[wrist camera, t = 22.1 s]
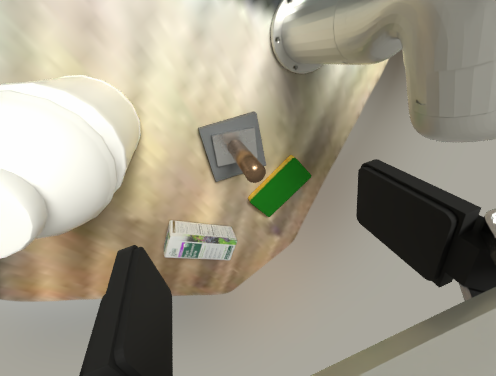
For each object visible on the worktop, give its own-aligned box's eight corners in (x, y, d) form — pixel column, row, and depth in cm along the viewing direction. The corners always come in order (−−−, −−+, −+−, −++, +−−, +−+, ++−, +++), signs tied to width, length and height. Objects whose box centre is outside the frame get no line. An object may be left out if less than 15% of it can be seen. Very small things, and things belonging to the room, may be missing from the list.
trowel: (252, 126, 44) (280, 148, 33) (255, 155, 47) (282, 184, 36) (211, 134, 42) (225, 160, 31) (216, 164, 45) (232, 197, 34)
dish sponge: (246, 196, 53) (249, 202, 51) (290, 153, 51) (295, 157, 49) (265, 212, 57) (269, 217, 55) (307, 172, 55) (312, 176, 53)
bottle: (129, 72, 36) (48, 90, 12) (150, 156, 42) (125, 273, 19) (21, 77, 33) (-373, 116, 9) (63, 167, 39) (-99, 326, 16)
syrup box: (230, 261, 52) (163, 259, 47) (224, 244, 57) (163, 240, 52) (238, 241, 50) (169, 236, 45) (231, 225, 55) (168, 219, 49)
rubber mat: (253, 111, 44) (256, 113, 43) (263, 162, 50) (266, 165, 48) (198, 127, 43) (198, 129, 41) (214, 178, 48) (216, 181, 47)
